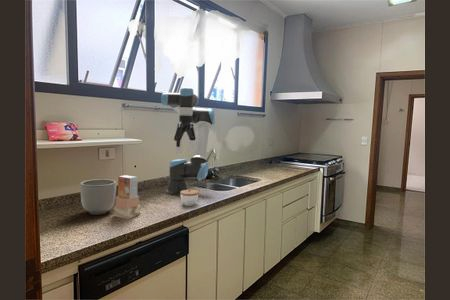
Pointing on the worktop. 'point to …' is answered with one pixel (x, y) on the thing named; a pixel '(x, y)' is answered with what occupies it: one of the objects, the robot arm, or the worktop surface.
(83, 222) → the worktop surface
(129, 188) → the small box
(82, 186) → the planter
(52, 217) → the worktop surface
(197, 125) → the robot arm
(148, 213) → the worktop surface
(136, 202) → the terracotta block
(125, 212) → the clear square container
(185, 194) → the lidded jar
